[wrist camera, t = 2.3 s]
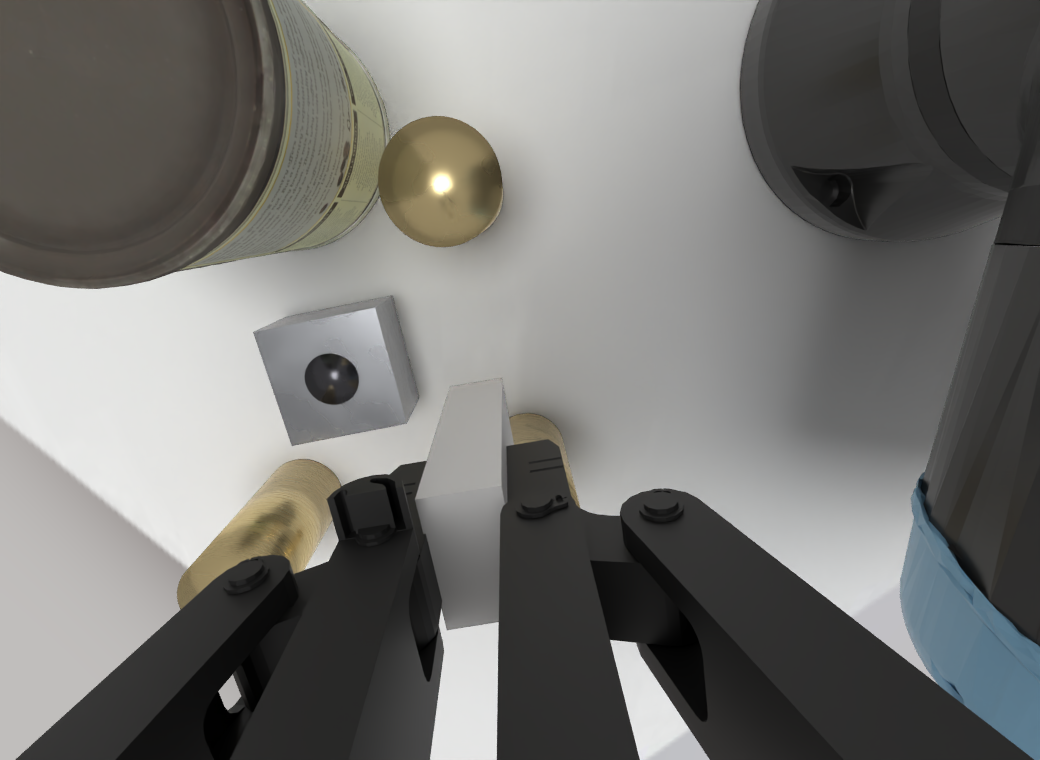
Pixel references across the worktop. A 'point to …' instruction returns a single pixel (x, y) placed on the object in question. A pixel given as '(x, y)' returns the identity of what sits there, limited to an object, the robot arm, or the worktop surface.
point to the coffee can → (177, 136)
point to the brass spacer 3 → (541, 438)
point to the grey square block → (339, 370)
